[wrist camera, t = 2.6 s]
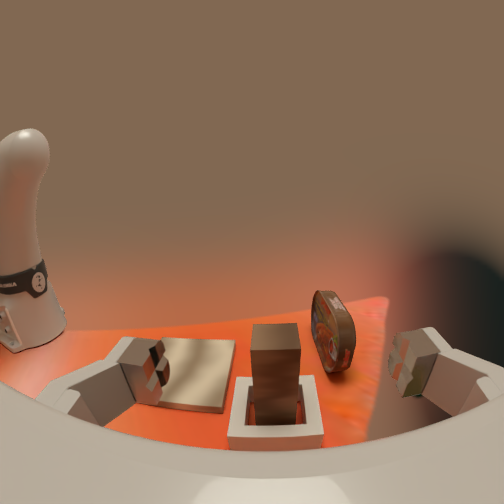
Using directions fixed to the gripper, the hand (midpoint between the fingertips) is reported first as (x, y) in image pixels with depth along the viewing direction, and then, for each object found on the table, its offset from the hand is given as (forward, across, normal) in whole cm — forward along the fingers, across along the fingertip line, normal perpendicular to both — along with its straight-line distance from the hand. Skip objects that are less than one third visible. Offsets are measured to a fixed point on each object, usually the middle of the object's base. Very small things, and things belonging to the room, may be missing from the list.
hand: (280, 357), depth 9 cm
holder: (+12, 0, -19) cm, 23 cm away
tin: (+25, +8, -20) cm, 33 cm away
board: (+20, -12, -19) cm, 30 cm away
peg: (+12, 0, -19) cm, 23 cm away
